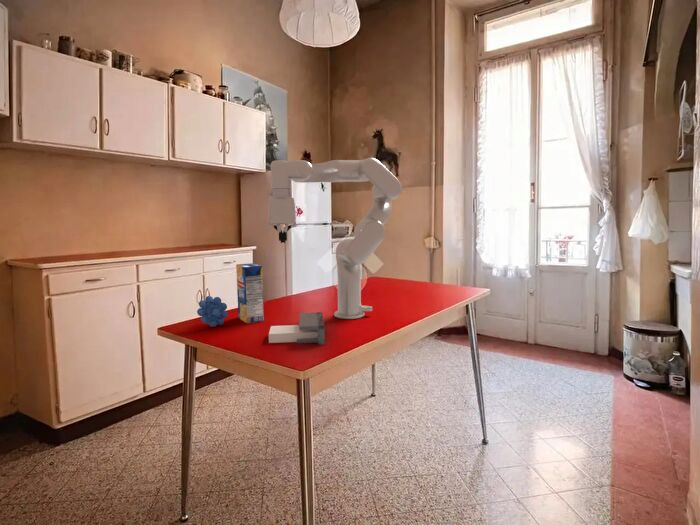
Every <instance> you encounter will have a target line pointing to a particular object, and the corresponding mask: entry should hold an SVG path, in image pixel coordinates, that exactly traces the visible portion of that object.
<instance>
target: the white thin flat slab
mask: <svg viewBox="0 0 700 525" xmlns="http://www.w3.org/2000/svg"><path fill="white" fill-rule="evenodd" d="M307 338H318V330H299V324H292V325H290V324H289V325H270V328H269V332H268V344H277V343H278V344H280V343H297V339H307Z"/></svg>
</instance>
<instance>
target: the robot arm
mask: <svg viewBox="0 0 700 525" xmlns="http://www.w3.org/2000/svg"><path fill="white" fill-rule="evenodd" d="M292 181H293V182H294V183H300V184H301V183H346V182H347V183H348V182H349V183H353V182H354V183H361V182H362V183H364V182H370V183H371V184H372V185H373V186H372V188H371V193H372V199H373V201H372V205H371V207H370V209H369V210H368V211H367V213H366V214H365V215H364V216H363V217H362V218H361V220H360V221H359V222H358V223H357V224H356V225H355V227H354V230H353V232H354V233H353V235H354V238H353V239H352V238H346V239H343V240H340V242H339V243H338V244H337V245H336V248H335V260H336V267H337V270H336V272H337V310H336V311H335V312H334V314H333V315H334V317H335V318H338V319H341V320H342V319H343V320H354V319H361V318H363V317H365V313H366V312H373V306H372V305H371V306H369V305H362V302H361V300H362V297H361V296H362V293H361V292H362V284H361V279H362V277H361V276H362V273H361V272H362V270H361V264H363V263H365V262H366V261H367V260H368V259H369V257H371V255H372V254H373V253H374V252H375V250H377V249H378V247H379V246H380V245H381V243H382V242H383V240H384V238H385V235H386V227H385V225H386V223H387V221H388V220H389V219H390V217H391V215H392V210H393V203H392V202H393V201H394V200H397V199H398V198H399V197H400V196H401V194H402V191H403V187H402V186H403V185H402V184H401V182H400V180H399V179H398V178H397V177H396V176H395V175H394V174H393V173H392V172H391V171H390V170H389V168H387V167H386V166H385V165H384V164H383V163H381V161H380V160H378V159H376V158H375V157H367V158H366V159H334V160H333V159H332V160H328V161H324V162H318V163H310V162H309V161H307V160H303V159H300V160H282V159H278V160H273V161H272V162H271V163H270V184H271V190H268V191H267V196H268V195H270V196H271V197H269V199H268V210H267V211H268V215H267V216H268V218H267V219H268V225H267V226H268V228H271V229H274V230H276V231H277V232H278V241H279V242H280V244H282V243H283V244H285V243H286V242H287V241H288V231H290V230H291V229H292V228H296V227H297V226H298V225H297V221H296V220H297V214H296V202H295V198H294V197H292V196H293V195H292V194H293V193H292V192H293V191H292V188H293V187H292ZM281 225H284V229H283V230H282V226H281Z"/></svg>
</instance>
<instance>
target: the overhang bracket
mask: <svg viewBox="0 0 700 525" xmlns="http://www.w3.org/2000/svg"><path fill="white" fill-rule="evenodd" d="M298 325H299V330H318V338H307V339H297V342H296V344H313V343H315V344H316V343H317V344H318V346H319V345H320V346H321V345H325V344H326V343H325V342H326V341H325V340H326V338H325V336H326V334H325V332H326V331H325V321H324V315H323V312H322V311H321V312H300V313H299V324H298Z"/></svg>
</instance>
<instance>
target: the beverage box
mask: <svg viewBox="0 0 700 525" xmlns="http://www.w3.org/2000/svg"><path fill="white" fill-rule="evenodd" d="M235 266H236V271H235V272H236V289H237V290H236V292H237V312H238V314H237V315H238V316H237V318H238V319H240V320H241V321H243V322H244V323H246V324H253V323H258V322H259V323H260V322H264V321H265V317H264V314H265V313H264V312H265V311H264V287H263V286H264V285H263V266H262V265H260V264H256V263H251V262H250V263H238V264H236V265H235Z"/></svg>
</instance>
